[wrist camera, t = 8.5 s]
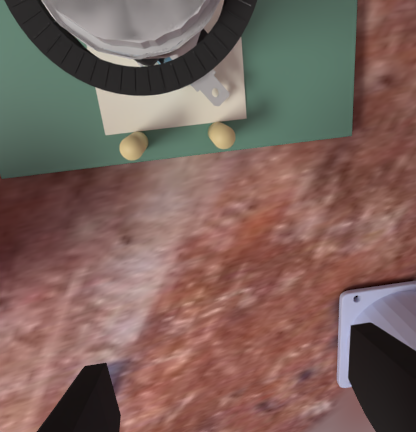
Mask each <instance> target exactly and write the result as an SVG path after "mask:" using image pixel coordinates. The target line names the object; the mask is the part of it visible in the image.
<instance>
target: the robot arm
mask: <svg viewBox="0 0 416 432" xmlns="http://www.w3.org/2000/svg"><path fill="white" fill-rule="evenodd" d="M355 296H358V297H357V298H355V299H354V297H355ZM337 382H338V384H339V386H340V387H342V388H347V387H352V388H353V390H354V392H355V394H356V397H357V399H358V401H359V403H360V405H361V407H362V409H363V411H364V413H365V415H366V416H367V418H368V420H369V421H370V423H371V425H372V426H373V428H374V429H375V431H376V432H416V281H410V282H403V283H396V284H389V285H382V286H375V287H369V288H362V289H355V290H348V291H344V292H343V293H342V294H341V295H340V301H339V331H338V361H337ZM120 416H121V415H120V411H119V407H118V404H117V400H116V396H115V393H114V389H113V386H112V382H111V378H110V375H109V371H108V367H107V364H106V363H102V364H95V365H89V366H85V367H84V368H83V369H82V370H81V372H80V373H79V374H78V376H77V377H76V379H75V380H74V381H73V383H72V384H71V386H70V387H69V388H68V390H67V391H66V393H65V394H64V395H63V397H62V398H61V400H60V401H59V402H58V404H57V405H56V407H55V408H54V409H53V411H52V412H51V413H50V415H49V416H48V417H47V419H46V420H45V421H44V423H43V424H42V425H41V427H40V428H39V429H38V431H37V432H119V428H120Z"/></svg>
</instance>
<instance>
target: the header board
mask: <svg viewBox="0 0 416 432" xmlns="http://www.w3.org/2000/svg"><path fill="white" fill-rule="evenodd" d="M223 3H224V0H220V2H219V4H218V6H217V8H216V10H215V12H214V14H213V16H212V18H211V20H210V21H209V22H208V24H207V25H206V26H205V27H204V30H205V31H206V32H207V33H209V32H210V31H211V29H212V28H213V26H214V25H215V23H216V22H217V21H218V19H219V16H220V14H221V10H222V6H223ZM356 21H357V0H257V3H256V6H255V9H254V11H253V14H252V16H251V18H250V21H249V23H248V25H247V27H246V28H245V30H244V32H243V34H242V36H241V37H240V39H239V40H238V42H237V43H236V45H235V46H234V47H233V49H232V50H231V51H230V52H229V53H228V55H227V56H226V57H225V58H224V59H223V60H222V61H221V62H220V63H219V64H218V65H217V66H216V67H215V68H214V69H213V70H214V71H215V72H216V73H215V74H214V76H215V77H216V78H217V80H218V81H219V82H220V83H221V84H222V85H223V86H224V87H225V89H226V90H227V91H228V92H229V97H228V98H227V99H226V100H225V101H224V102H223V103H222V104H221V105H220V106H214V105H213V104H212V103H211V102H210V100H209V99H208V98H207V97H206V96H205V95H204V94H203V93H202V92H201V91H200V90H199V91H198V92H197V91H196V90H195V89H194V88H193V87H192V86H191V85H188V86H185V87H183V88H181V89H178V90H175V91H172V92H169V93H164V94H159V95H150V96H131V95H123V94H116V93H112V92H108V91H104V90H101V89H99V88H96V87H93V86H90V85H88V84H86V83H84V82H82V81H80V80H78V79H76V78H75V77H73V76H71V75H70V74H68V73H66V72H65V71H63V70H62V69H61V68H60V67H58V66H57V65H56V64H54V63H53V62H52V61H51V60H49V59H48V58H47V57H46V56H45V55H44V54H43V53H42V52H41V51H40V50H39V49H38V48H37V47H36V46H35V45H34V44H33V43H32V42H31V40H30V39H29V38H28V37H27V35H26V34H25V33H24V31H23V30H22V29H21V28H20V26H19V25H18V23H17V22H16V20H15V18H14V17H13V15H12V14H11V12H10V10H9V9H8V7H7V5H6V3H5V1H4V0H0V175H1V178H2V179H5V178H13V177H21V176H29V175H37V174H45V173H54V172H62V171H70V170H78V169H86V168H94V167H102V166H110V165H119V164H127V163H135V162H143V161H151V160H159V159H167V158H176V157H184V156H192V155H200V154H208V153H216V152H224V151H233V150H241V149H249V148H257V147H265V146H273V145H281V144H289V143H298V142H306V141H314V140H322V139H330V138H338V137H346V136H352V120H353V95H354V70H355V45H356ZM77 40H78V41H79V42H80V43H81V44H82V45H83V46H84V47H85V48H86V49H87V50H89V51H90V52H91V53H93V54H94V55H95V56H96V57H98V58H100V59H102V60H105V61H108V62H111V63H114V64H118V65H124V66H133V67H141V66H140V65H139V64H138V63H137V62H136V61H135V60H134V59H127V58H123V57H119V56H115V55H111V54H106V53H102V52H98V51H96V50H94V49H92V48H90V47H88V46H87V45H86V44H84V43H83V42H82V41H80V40H79V39H78V38H77ZM154 65H158V63H157V62H156V63H155V64H154ZM143 66H145V65H143ZM218 94H219V92H218V90H217V89H216V88H214V89H213V90H212V95H213V96H214V97H217V96H218Z"/></svg>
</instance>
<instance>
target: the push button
mask: <svg viewBox="0 0 416 432" xmlns="http://www.w3.org/2000/svg"><path fill="white" fill-rule="evenodd" d="M4 1H5V3H6V5H7V7H8V9H9V10H10V12H11V14H12V15H13V17H14V18H15V20H16V22H17V23H18V25H19V26H20V28H21V29H22V30H23V31H24V33H25V34H26V35H27V37H28V38H29V39H30V40H31V42H32V43H33V44H34V45H35V46H36V47H37V48H38V49H39V50H40V51H41V52H42V53H43V54H44V55H45V56H46V57H47V58H48V59H49V60H51V61H52V62H53V63H54V64H56V65H57V66H58V67H60V68H61V69H62V70H63V71H65V72H66V73H68V74H70V75H71V76H73V77H75V78H76V79H78V80H80V81H82V82H84V83H86V84H88V85H90V86H93V87H96V88H99V89H101V90H104V91H108V92H112V93H116V94H123V95H131V96H150V95H159V94H164V93H169V92H172V91H175V90H178V89H181V88H183V87H185V86H188V85H191V86H192V87H193V88H194V89H195V90H196V91H197V92H198V91H199V90H200V91H201V92H202V93H203V94H204V95H205V96H206V97H207V98H208V99H209V100H210V102H211V103H212V104H213V105H214V106H220V105H221V104H222V103H223V102H224V101H225V100H226V99H227V98H228V97H229V92H228V91H227V90H226V89H225V87H224V86H223V85H222V84H221V83H220V82H219V81H218V80H217V78H216V77H215V76H214V74H215V73H216V72H215V71H214V70H213V69H214V68H215V67H216V66H217V65H218V64H219V63H220V62H221V61H222V60H223V59H224V58H225V57H226V56H227V55H228V53H229V52H230V51H231V50H232V49H233V47H234V46H235V45H236V43H237V42H238V40H239V39H240V37H241V36H242V34H243V32H244V30H245V28H246V27H247V25H248V23H249V21H250V18H251V16H252V14H253V11H254V9H255V6H256V3H257V0H224V3H223V6H222V10H221V14H220V16H219V19H218V21H217V22H216V23H215V25H214V26H213V28H212V29H211V31H210V32H209V33H207V32H206V31H205V30H204V27H205V26H206V25H207V24H208V22H209V21H210V20H211V18H212V16H213V14H214V12H215V10H216V8H217V6H218V4H219V2H220V0H4ZM77 38H78V39H79V40H80V41H82V42H83V43H84V44H86V45H87V46H88V47H90V48H92V49H94V50H96V51H98V52H102V53H106V54H111V55H115V56H119V57H123V58H127V59H134V60H135V61H136V62H137V63H138V64H139V65H140V66H141V67H133V66H124V65H118V64H114V63H111V62H108V61H105V60H102V59H100V58H98V57H96V56H95V55H94V54H93V53H91V52H90V51H89V50H87V49H86V48H85V47H84V46H83V45H82V44H81V43H80V42H79V41H78V40H77ZM156 62H157V63H158V65H154V64H155V63H156ZM143 65H145V66H143ZM214 88H216V89H217V90H218V92H219V94H218V96H217V97H214V96H213V95H212V90H213V89H214Z"/></svg>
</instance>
